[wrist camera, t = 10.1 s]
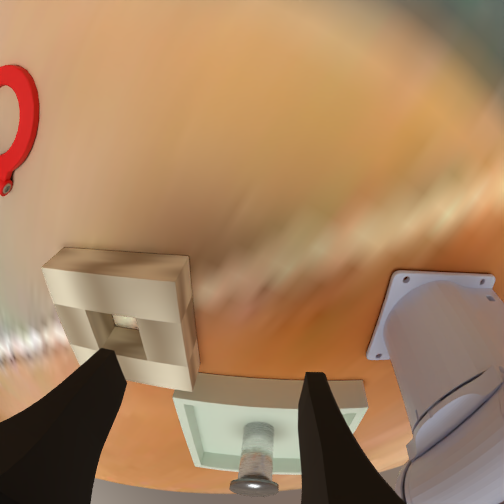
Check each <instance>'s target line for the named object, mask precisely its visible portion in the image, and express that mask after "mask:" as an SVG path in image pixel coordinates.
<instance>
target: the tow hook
mask: <svg viewBox="0 0 504 504" xmlns="http://www.w3.org/2000/svg"><path fill="white" fill-rule="evenodd" d="M4 85H8V86H9V87H11V88H12V89H13V90H14V92H15V93H16V96H17V99H18V101H19V109H20V121H19V127H18V132H17V135H16V138H15V140H14V142H13V144H12V146H11V147H10V149H9V150H8V151H7V152H6V153H4V154H1V155H0V195H1V196H5V195H7V194H8V193H9V192H10V190H11V188H12V185H13V182H12V181H11V180H10V178H11V175H12V172H13V170H15V169H17V168H18V167H19V166H20V165H21V164H22V163H23V162H24V161H25V159H26V157H27V155H28V154H29V152H30V150H31V148H32V145H33V142H34V139H35V137H36V132H37V127H38V122H39V99H38V92H37V88H36V86H35V83H34V80H33V78H32V77H31V75H30V74H29V73H28V71H27V70H25V69H24V68H22V67H20V66H14V65H5V66H2V67H0V87H1V86H4Z"/></svg>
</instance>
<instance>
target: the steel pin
mask: <svg viewBox="0 0 504 504" xmlns="http://www.w3.org/2000/svg"><path fill="white" fill-rule="evenodd" d="M273 450H274V427H273V426H272V425H270V424H268V423H264V422H251V423H248V424H246V425H245V426H244V431H243V439H242V448H241V457H240V465H239V474H238V479H236V480H233V481H231V483H230V490H231V491H232V492H234V493H237V494H240V495H245V496H254V497H264V496H271V495H275V494H277V493H278V488H279V485H278V484H277V483H275V482H273V481H272V471H273Z"/></svg>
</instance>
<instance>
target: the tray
mask: <svg viewBox="0 0 504 504" xmlns="http://www.w3.org/2000/svg"><path fill="white" fill-rule="evenodd" d="M303 383H304V380H279V379H261V378H247V377H235V376H225V375H215V374H206V373H198V374H197V378H196V381H195V385H194V389H193V392H189V391H182V390H176V389H175V391H174V394H173V401H174V404H175V408H176V411H177V414H178V417H179V421H180V424H181V427H182V430H183V433H184V436H185V439H186V442H187V445H188V448H189V451H190V453H191V456H192V459H193V462H194V465H195V466H196V467H202V468H209V469H216V470H225V471H234V472H239V465H240V457H241V448H242V439H243V431H244V426H245V425H246V424H248V423H251V422H264V423H268V424H270V425H272V426H273V427H274V450H273V471H272V474H285V475H302V474H301V462H300V450H299V438H298V403H299V399H300V395H301V391H302V387H303ZM328 383H329V386H330V389H331V391H332V393H333V396H334V398H335V400H336V403H337V405H338V407H339V409H340V411H341V413H342V415H343V417H344V419H345V421H346V423H347V425H348V427H349V429H350V430H351V432H352V434H353V433H354V432H355V430H356V428H357V427H358V425H359V423H360V422H361V420H362V418H363V416H364V415H365V413H366V411H367V409H368V402H367V398H366V393H365V388H364V384H363V380H342V381H328Z"/></svg>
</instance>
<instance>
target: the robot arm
mask: <svg viewBox="0 0 504 504" xmlns="http://www.w3.org/2000/svg"><path fill="white" fill-rule="evenodd" d="M407 276H408V278H407V279H406V280H403V279H404V278H405V277H407ZM481 280H482V281H481ZM480 281H481V282H480ZM494 283H495V277H494V276H493V275H492V274H474V273H450V272H428V271H407V270H398V271H396V272H394V273H393V274H392V277H391V280H390V284H389V287H388V290H387V294H386V297H385V300H384V303H383V306H382V310H381V313H380V316H379V319H378V322H377V325H376V327H375V330H374V333H373V336H372V339H371V342H370V344H369V347H368V350H367V352H366V357H367V359H369V360H387V359H390V360H391V363H392V366H393V369H394V372H395V375H396V378H397V381H398V384H399V388H400V391H401V394H402V398H403V401H404V404H405V408H406V411H407V415H408V419H409V422H410V426H411V430H412V434H413V439H412V440H411V441H410V442H409V443H408V444H407V445H406V447H407V451H408V456H409V460H408V461H407V462H406V463H405V464H404V465H403V467H402V468H401V470H400V472H399V474H398V477H397V480H396V485H395V491H393V489H392V488H391V487H390V486H389V485H388V483H386V481H385V480H384V479H383V478H382V477H381V475H380V474H379V473H378V471H377V470H376V469H375V467H374V466H373V465H372V463H371V462H370V461H369V459H368V458H367V456H366V455H365V453H364V452H363V450H362V449H361V447H360V446H359V444H358V442H357V441H356V439H355V437H354V436H353V434H352V432H351V430H350V429H349V427H348V425H347V423H346V421H345V419H344V417H343V415H342V413H341V411H340V409H339V407H338V405H337V403H336V400H335V398H334V396H333V393H332V391H331V389H330V386H329V383H328V381H327V378H326V375H325V374H324V373H323V372H306V374H305V379H304V383H303V387H302V391H301V395H300V399H299V403H298V438H299V450H300V462H301V474H302V501H301V504H504V303H503V301H502V300H501V299H500V298H499V297H498V295H497V294H496V293H495V292H494V291H493V289H492V288H493V285H494ZM377 354H378V355H377ZM126 385H127V382H126V379H125V377H124V375H123V372H122V370H121V367H120V364H119V362H118V359H117V357H116V354H115V351H114V350H109V349H105V348H100V349H99V350H98V351H97V352H96V353H95V354H93V355H92V356H91V357H90V358H89V359H88V360H87V361H86V362H85V363H83V364H82V365H81V366H80V367H79V368H78V369H77V370H76V371H74V372H73V373H72V374H71V375H70V376H69V377H68V378H66V379H65V380H64V381H63V382H62V383H61V384H59V385H58V386H57V387H56V388H54V389H53V390H52V391H51V392H49V393H48V394H47V395H46V396H44V397H43V398H42V399H40V400H39V401H37V402H36V403H34V404H33V405H31V406H30V407H28V408H27V409H25V410H23V411H22V412H20V413H18V414H16V415H14V416H12V417H11V418H9V419H7V420H5V421H3V422H0V504H90V502H91V495H92V488H93V483H94V478H95V474H96V469H97V465H98V462H99V458H100V454H101V451H102V449H103V446H104V443H105V441H106V439H107V436H108V434H109V432H110V429H111V427H112V425H113V422H114V420H115V418H116V415H117V413H118V411H119V408H120V406H121V403H122V399H123V396H124V392H125V389H126Z"/></svg>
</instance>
